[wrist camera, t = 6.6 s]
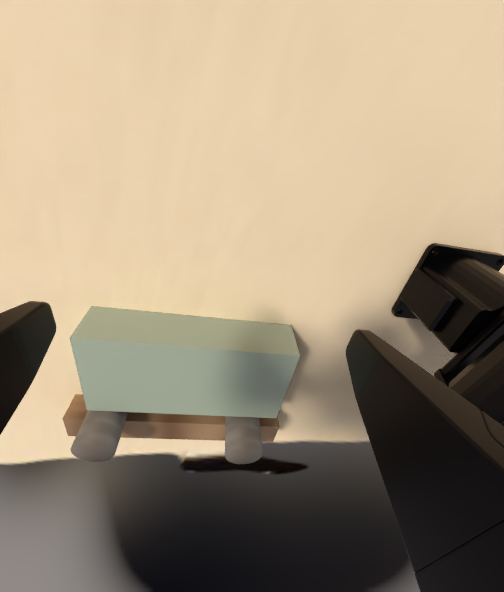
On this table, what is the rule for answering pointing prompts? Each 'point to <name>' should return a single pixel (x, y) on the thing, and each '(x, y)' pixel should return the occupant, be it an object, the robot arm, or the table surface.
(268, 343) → the painted plate block
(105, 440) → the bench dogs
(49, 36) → the table surface
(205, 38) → the table surface
